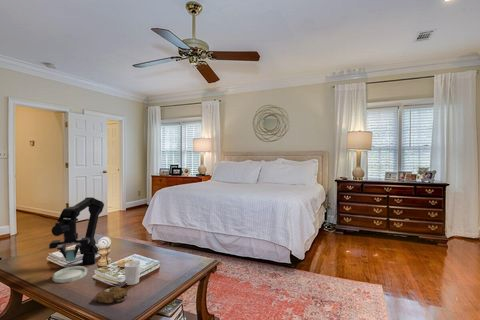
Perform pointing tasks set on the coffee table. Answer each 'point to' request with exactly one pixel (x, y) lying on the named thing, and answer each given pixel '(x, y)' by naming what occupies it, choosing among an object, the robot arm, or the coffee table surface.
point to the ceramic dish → (69, 274)
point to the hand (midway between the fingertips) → (70, 257)
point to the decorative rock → (111, 295)
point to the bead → (70, 255)
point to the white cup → (132, 272)
